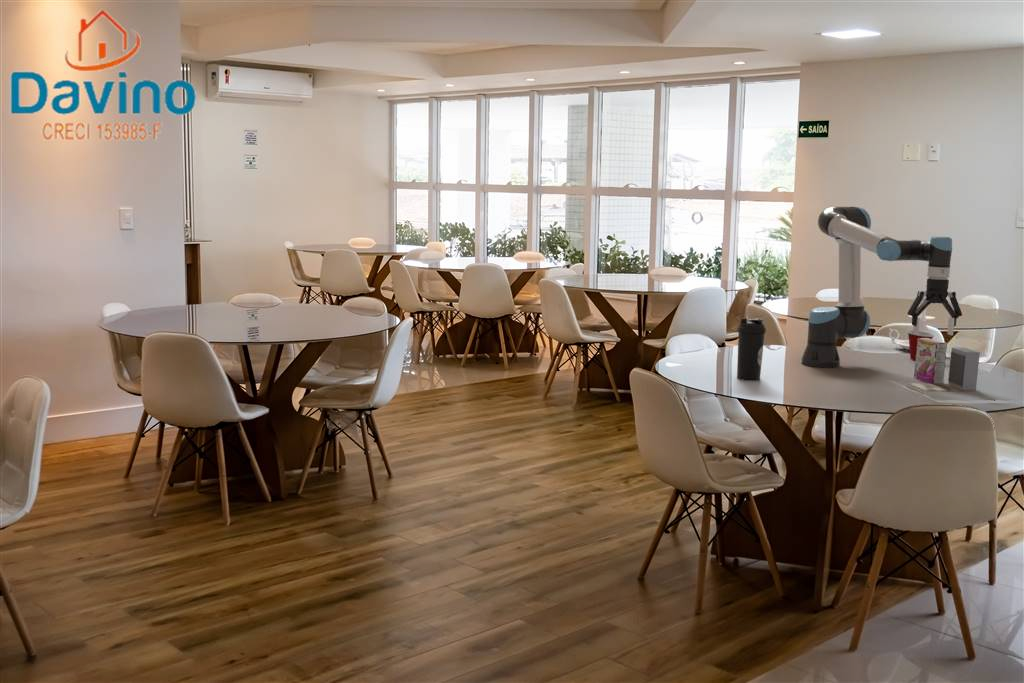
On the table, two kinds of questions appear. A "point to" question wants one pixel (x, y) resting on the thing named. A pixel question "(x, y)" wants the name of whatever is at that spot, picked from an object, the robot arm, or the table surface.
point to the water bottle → (750, 349)
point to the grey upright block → (963, 368)
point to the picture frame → (935, 387)
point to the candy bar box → (930, 360)
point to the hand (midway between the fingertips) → (932, 334)
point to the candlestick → (922, 327)
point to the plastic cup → (913, 341)
